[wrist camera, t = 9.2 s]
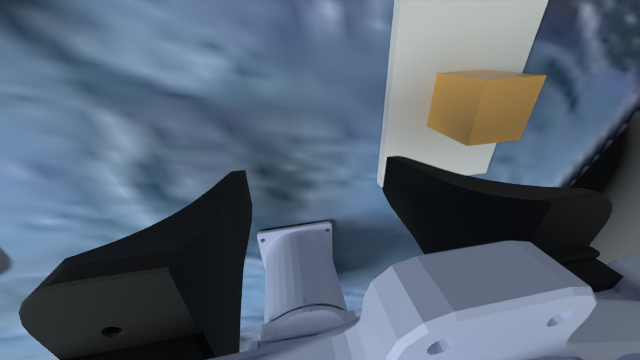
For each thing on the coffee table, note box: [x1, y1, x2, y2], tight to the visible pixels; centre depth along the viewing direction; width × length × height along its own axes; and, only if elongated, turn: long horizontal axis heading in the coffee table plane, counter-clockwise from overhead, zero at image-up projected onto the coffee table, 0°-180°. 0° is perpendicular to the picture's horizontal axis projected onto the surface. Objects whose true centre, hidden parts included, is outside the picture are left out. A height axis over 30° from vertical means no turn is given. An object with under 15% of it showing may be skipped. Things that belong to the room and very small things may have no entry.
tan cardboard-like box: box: [427, 70, 547, 146], centre depth 18 cm, size 4×4×5 cm
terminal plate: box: [377, 0, 548, 187], centre depth 19 cm, size 16×12×4 cm
